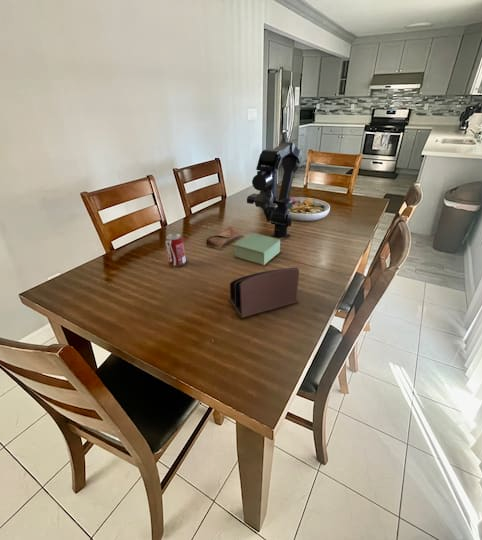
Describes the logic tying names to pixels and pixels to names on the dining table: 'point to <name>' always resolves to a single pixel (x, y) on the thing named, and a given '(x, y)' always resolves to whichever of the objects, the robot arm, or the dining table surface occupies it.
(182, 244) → the soda can
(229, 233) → the sunglasses case
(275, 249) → the keepsake box
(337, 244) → the dining table surface
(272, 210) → the robot arm
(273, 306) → the letter holder
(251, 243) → the lid
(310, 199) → the bowl
